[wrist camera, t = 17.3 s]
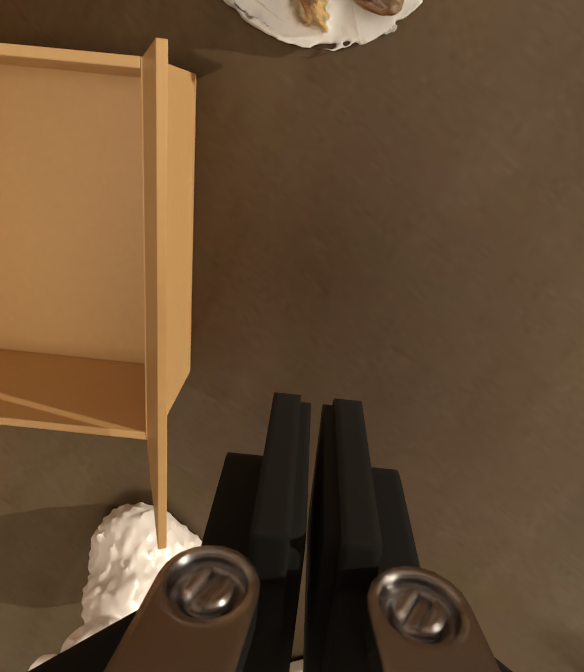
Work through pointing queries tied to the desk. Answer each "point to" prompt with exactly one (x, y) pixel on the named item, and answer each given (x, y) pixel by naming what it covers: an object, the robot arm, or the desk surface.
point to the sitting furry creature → (124, 567)
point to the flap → (156, 270)
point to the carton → (86, 239)
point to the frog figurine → (324, 19)
